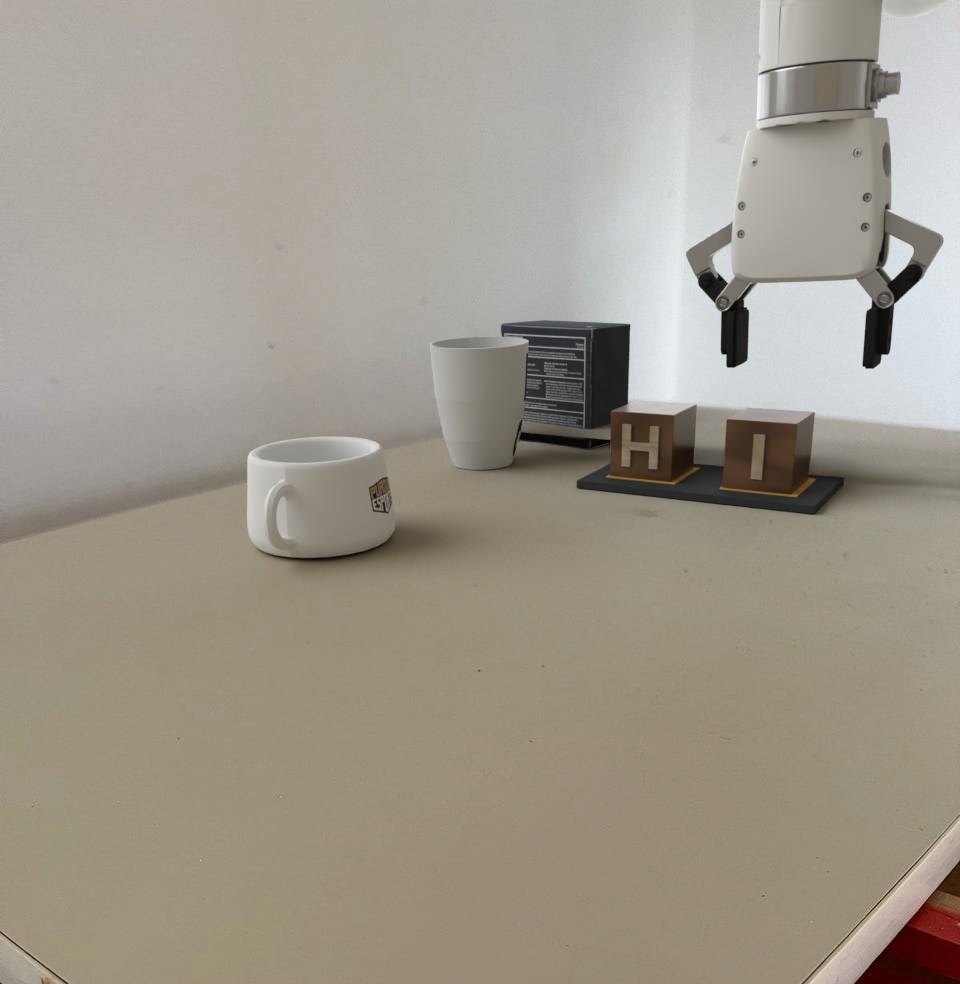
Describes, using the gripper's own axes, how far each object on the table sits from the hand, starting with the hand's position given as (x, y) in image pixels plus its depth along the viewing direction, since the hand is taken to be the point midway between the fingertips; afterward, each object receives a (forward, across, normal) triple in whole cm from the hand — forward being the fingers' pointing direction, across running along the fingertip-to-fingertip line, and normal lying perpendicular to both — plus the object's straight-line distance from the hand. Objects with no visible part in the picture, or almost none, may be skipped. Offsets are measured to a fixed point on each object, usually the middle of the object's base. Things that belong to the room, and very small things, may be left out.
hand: (802, 365), depth 75 cm
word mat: (+9, +6, +3) cm, 11 cm away
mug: (+8, +24, +28) cm, 38 cm away
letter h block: (+8, +10, +3) cm, 13 cm away
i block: (+8, +2, +3) cm, 9 cm away
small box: (+8, +24, -9) cm, 27 cm away
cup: (+8, +26, +3) cm, 27 cm away
